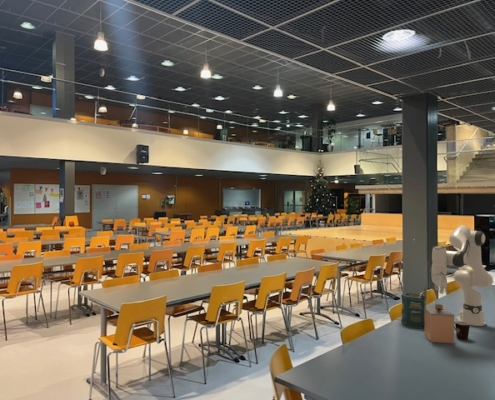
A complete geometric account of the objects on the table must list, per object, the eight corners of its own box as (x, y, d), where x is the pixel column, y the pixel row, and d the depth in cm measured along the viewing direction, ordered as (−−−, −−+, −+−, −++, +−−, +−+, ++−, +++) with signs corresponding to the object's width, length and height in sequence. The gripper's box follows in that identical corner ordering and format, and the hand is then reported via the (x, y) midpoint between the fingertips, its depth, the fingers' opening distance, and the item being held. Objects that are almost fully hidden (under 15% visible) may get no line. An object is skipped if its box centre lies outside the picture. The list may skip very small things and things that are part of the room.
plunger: (428, 328, 257) (428, 302, 257) (444, 329, 255) (444, 303, 255) (432, 333, 247) (433, 306, 247) (449, 334, 245) (449, 307, 246)
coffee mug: (471, 341, 248) (471, 325, 248) (457, 339, 249) (457, 324, 250) (465, 335, 259) (465, 320, 259) (451, 334, 261) (451, 319, 261)
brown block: (424, 334, 259) (424, 307, 260) (446, 336, 257) (446, 309, 257) (430, 341, 245) (430, 313, 246) (453, 343, 243) (454, 314, 243)
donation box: (424, 328, 273) (424, 288, 273) (400, 324, 281) (400, 286, 281) (426, 322, 287) (426, 285, 287) (403, 319, 295) (403, 282, 295)
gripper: (449, 273, 241) (449, 295, 241) (439, 268, 261) (439, 288, 261) (438, 273, 242) (438, 295, 242) (429, 268, 262) (429, 288, 262)
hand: (439, 291), depth 252 cm, fingers open, 8 cm apart
